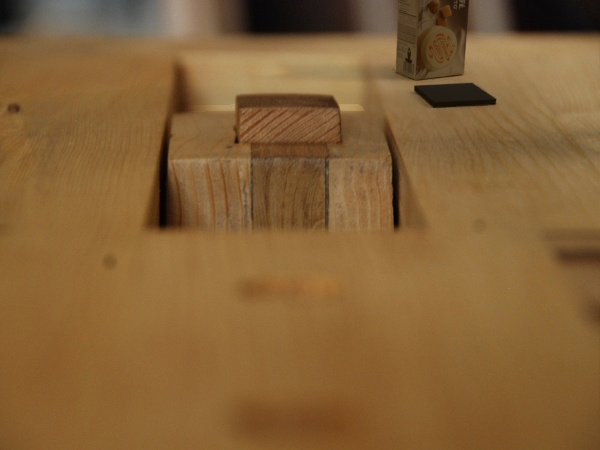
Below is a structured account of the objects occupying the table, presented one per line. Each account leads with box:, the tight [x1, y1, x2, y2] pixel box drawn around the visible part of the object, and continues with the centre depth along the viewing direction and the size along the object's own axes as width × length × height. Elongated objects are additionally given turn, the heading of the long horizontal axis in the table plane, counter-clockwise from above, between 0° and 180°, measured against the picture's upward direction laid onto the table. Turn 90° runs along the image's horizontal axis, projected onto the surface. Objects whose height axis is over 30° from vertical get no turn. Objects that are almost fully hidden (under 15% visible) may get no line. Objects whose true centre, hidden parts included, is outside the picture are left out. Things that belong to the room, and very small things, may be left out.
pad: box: [413, 82, 497, 109], centre depth 116 cm, size 9×9×1 cm
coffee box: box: [395, 0, 470, 81], centre depth 126 cm, size 9×6×16 cm
